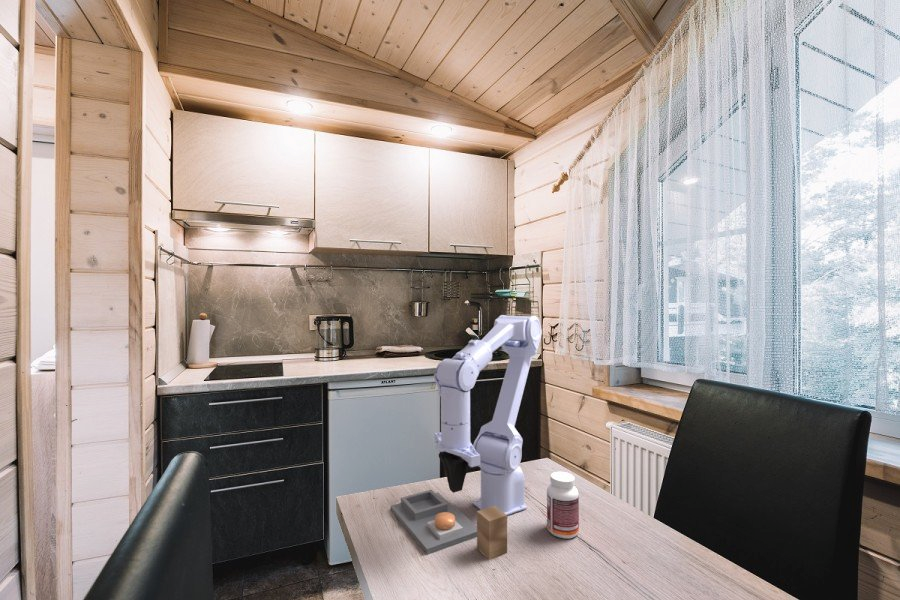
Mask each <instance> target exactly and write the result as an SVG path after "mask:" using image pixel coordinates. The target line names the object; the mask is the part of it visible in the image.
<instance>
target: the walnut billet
mask: <svg viewBox="0 0 900 600" xmlns="http://www.w3.org/2000/svg"><path fill="white" fill-rule="evenodd" d="M476 526H477V537H476V548H477V550H478V551H479V552H480V553H481V554H482V555H483V556H485V558H487V559H488V560H489V561H491V560H493V559H496V558H498V557H500V556H503V555H506V554H508V515H506V514H505V513H503V512H502V511H501V510H499V509H498V508H497V507H495V506H492V507H489V508H485V509H482V510H480V509H479V510H477V511H476Z"/></svg>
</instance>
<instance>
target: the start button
mask: <svg viewBox="0 0 900 600" xmlns="http://www.w3.org/2000/svg"><path fill="white" fill-rule="evenodd" d="M454 525H455V516H454V515H453V514H452V513H448V512H442V513H439V514H437V515H436V516H435V526H436V527H438V528H440V529H450V528H452V527H453V526H454Z"/></svg>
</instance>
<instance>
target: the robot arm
mask: <svg viewBox="0 0 900 600" xmlns="http://www.w3.org/2000/svg"><path fill="white" fill-rule="evenodd" d="M542 332H543V330H542V325H541V321H540V319H539V318H538V317H537V316H536V315H531V316H529V315H528V316H526V315H525V316H523V315H521V316H520V315H507V314H506V315H505V314H500V315H499V316H498V317H497V318H496V319H494V323H493V327H492V328H491V329H490V331H488V333H487V334H486V335H485V336H483V337H482V339H470V340H469V341H468V342H467V343H468V344H467V345H465V347H464V348H462V349H461V350H460V351H458V352H456V353H455V355H454V356H453V357H452V358H444V359H442V360H441V361H440V362H439V363H438V364H437V366H436V368H435V373H434V374H433V377H434V378H433V379H434V382H435V385H437V389H438V390H437V391H438V393H437V394H438V395H439V397H440V432H439V431H438V432H435V433H434V443H435V444H437V445H436V446H435V449H436V450H437V451H438V452H439V453H438V458H439V460H440V462H441V463H442V466H443V469H444V472H445V476H446V480H447V483H448V484H447V485H448V487H449V491H451V492H452V493H457V492H460V491H462V490H463V488H464V483H465V479H466V476H467V473H468V470H469V468H475V467H478V468H479V469H480V499H477V500H474V501H473V503H472V504H473V505H474V506H475V507H477V509H479V510H482V509H485V508H489V507H492V506H495V507H497V508H498V509H499V510H501V511H502V512H503V513H505V514H506V515H507V516H508V515H511V514H514V513H517V512H520V511H523V510H526V509H527V508H528V506H527V505H526V504H525V499H526V497H525V495H526V494H525V491H526V490H525V486H526V485H525V475H524V472H523V470H522V468H521V467H520V463H521V460H522V455H523V454H522V453H523V452H522V451H523V450H522V447H523V443H524V442H523V441H524V439H523V437H522V436H521V434H520V432H518V430H517V428H516V427H515V426H516V422H517V419H518V418H517V417H518V413H519V410H520V406H521V402H522V399H523V395H524V391H525V386H526V383H527V379H528V375H529V372H530V371H529V370H530V367H531V363H532V360H533V357H534V356H535V355H537V353H538V350H539V345H540V343H541V338H542ZM500 347H501V349H502V350H503V352H505V353H506V354H508V356H509V359H508V363H507V366H506V368H505V369H506V370H505V373H504V377H503V381H502V383H501V384H502V385H501V388H500V392H499V395H498V398H497V401H496V405H495V408H494V413H493V416H492V419H491V420H490V421H489V422H487V423H485V424H483V425H482V426H481V427H480V430H479V432H478V435H477V437H476V438H475V440H473V441H474V442H473V444H472V442H471V389H473V388H474V387H475V384H476V382H477V379H478V377H479V374H480V372H482V370H483V369H484V368H485V367H486V366H488V364H490V362H491V361H492V360H493V353H494V352H495V351H496V350H498V349H499V348H500Z"/></svg>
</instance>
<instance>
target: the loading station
mask: <svg viewBox="0 0 900 600" xmlns="http://www.w3.org/2000/svg"><path fill="white" fill-rule="evenodd" d="M389 508H390V512H391V513H392V514H393V515H394V516H395V517H396V519H397V520H398V521H399V522H400V524H401V525H402V526H403V527H404V528H405V530H406V531H407V532H408V533H409V535H410V536H411V537H412V538H413V539H414V540H415V542H416V543H417V544H418V545H419V547H420V548H421V550H423V551H424V553H425V554H426V555H430V554H432V553H436V552H438V551H441V550H443V549H446V548H449V547H452V546H455V545H459V544H462V543H463V542H466V541H469V540H472V539H474V538H477V524H475V523H474V522H473V521H472V520H471V519H469V518H468V517H467V516H466V515H464V514H463V512H461V511H460V510H459V509H458V508H457V507H456V506H454V505H453V504H452V503H451V502H450V501H448V499H446V498H445V497H444V496H443V495H442V494H441V493H439V492H436V493H435V492H434V491H433V489H429V490H426V491H421V492H417V493H414V494H411V495H407V496H404V497H403V496H402V497H400V502H398V503H396V504H393V505H392V504H391V505H390V507H389ZM442 512H448V513H452V514H453V515H454V516H455V525H454V526H453V527H452V528H450V529H440V528H438V527H436V526H435V516H436V515H437V514H439V513H442Z"/></svg>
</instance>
